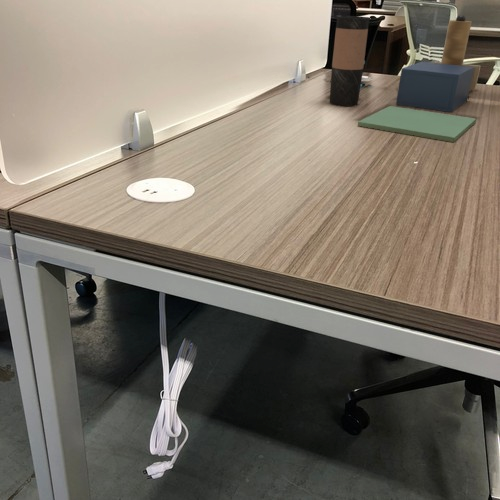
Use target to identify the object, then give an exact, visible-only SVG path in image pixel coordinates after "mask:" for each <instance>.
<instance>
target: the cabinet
mask: <svg viewBox="0 0 500 500" xmlns="http://www.w3.org/2000/svg"><path fill="white" fill-rule="evenodd" d="M473 72H474V67H470V66H460V65H449V64H439V63H434V62H429V61H420V62H416V63H413V64H411V65H408V66H405V67H402V68H401V72H400V76H399V82H398V90H397V96H396V102H395V105H396V106H402V107H403V106H404V107H410V108H417V109H418V108H419V109H424V110H431V111H437V112H438V111H439V112H444V113H445V112H446V113H453V112H455V110H457V109H459V108H460V107H461V106H463V105H464V104H466V103H467V102H468V98H469V95H470V91H469V89H470V85H471V81H472V76H473Z"/></svg>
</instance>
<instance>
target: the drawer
mask: <svg viewBox="0 0 500 500" xmlns="http://www.w3.org/2000/svg"><path fill="white" fill-rule="evenodd" d="M433 63H439V64H441V61H437V60H436V61H433ZM462 66H470V67H474V72H473V76H472V81H471V85H470V89H469V92H471V91H473V92H475V91H476V90H477V89H476V88H477V84H478V80H479V75H480V72H481V71H480V70H481V65H476V64H469V63H463V65H462Z"/></svg>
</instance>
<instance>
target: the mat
mask: <svg viewBox="0 0 500 500" xmlns="http://www.w3.org/2000/svg"><path fill="white" fill-rule="evenodd" d="M476 122H477V118H475V117H467V116H462V115H461V116H460V115H453V114H448V113H439V112H434V111H433V112H432V111H427V110H420V109H413V108H406V107H398V106H393V105H392V106H391V105H389V106H387V107H385V108H383V109H381V110H379V111H377V112H374V113H373V114H370V115H369V116H366V117H364V118H363V119H360V120H359V121H358V122H357V127H360V126H362V127H361V128H366V127H368V128H367V129H372V128H374V129H373V130H377V129H380V130H379V131H383V130H385V132H389V131H390V133H395V132H396V134H400V135H401V134H402V135H408V136H413V135H414V137H420V138H424V139H430V138H431V139H432V140H436V139H437V140H438V141H443V142H449V143H454V142H456V141H457V140H458V139H459V138H460V137H461V136H463V135H464V134H465V133H466V132H467V131H468V130H470V128H471V127H473V126H474V125H475V124H476Z"/></svg>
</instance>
